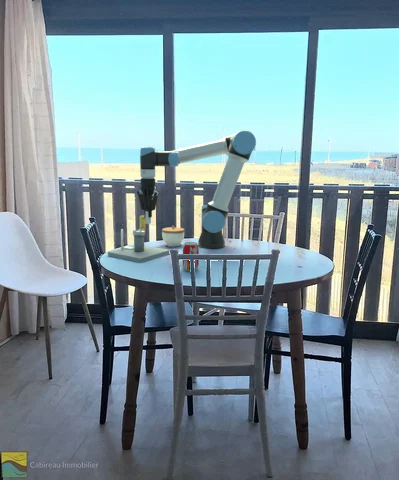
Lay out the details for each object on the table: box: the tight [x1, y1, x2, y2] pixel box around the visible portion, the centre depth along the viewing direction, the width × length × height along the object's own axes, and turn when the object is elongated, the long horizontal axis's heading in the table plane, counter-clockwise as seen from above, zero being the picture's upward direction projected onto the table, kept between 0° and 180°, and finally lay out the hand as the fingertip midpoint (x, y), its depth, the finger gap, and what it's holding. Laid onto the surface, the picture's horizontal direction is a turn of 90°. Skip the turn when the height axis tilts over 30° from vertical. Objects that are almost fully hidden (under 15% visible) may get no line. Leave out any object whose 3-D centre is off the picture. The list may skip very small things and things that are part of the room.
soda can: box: [182, 241, 200, 272], centre depth 180 cm, size 7×7×12 cm
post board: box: [107, 228, 170, 263], centre depth 206 cm, size 22×22×12 cm
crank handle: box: [132, 215, 146, 237], centre depth 209 cm, size 16×6×8 cm, turn 178°
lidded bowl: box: [161, 225, 185, 247], centre depth 231 cm, size 13×13×11 cm
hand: (148, 223), depth 214 cm, fingers closed
